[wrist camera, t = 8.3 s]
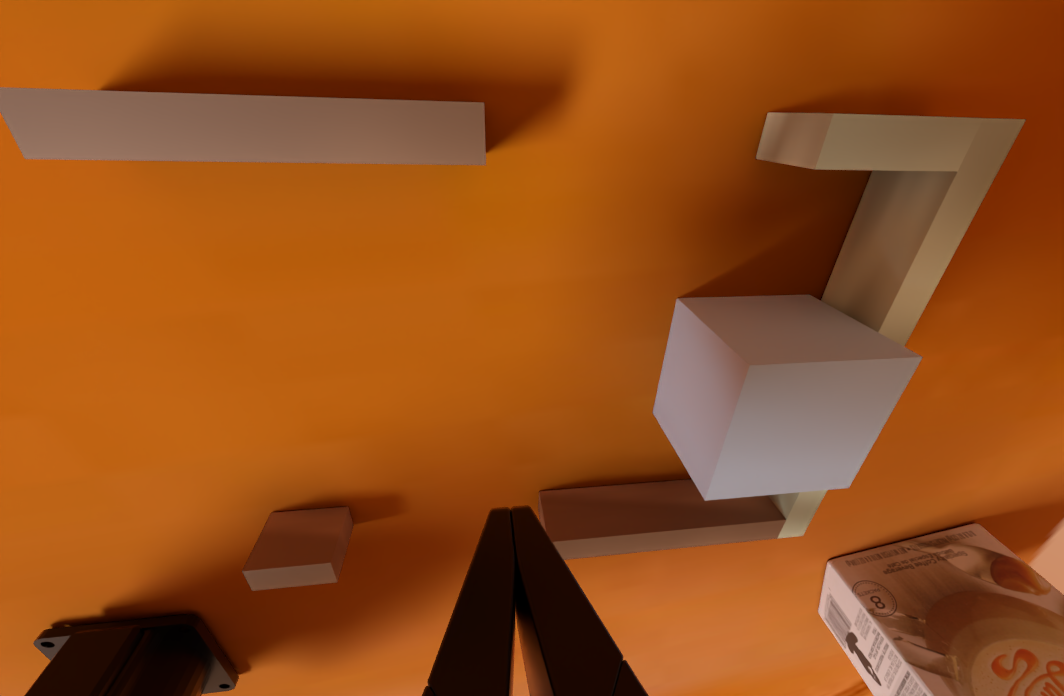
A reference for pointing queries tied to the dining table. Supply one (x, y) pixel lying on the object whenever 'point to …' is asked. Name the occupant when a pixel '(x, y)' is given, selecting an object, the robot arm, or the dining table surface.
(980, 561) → the coffee box
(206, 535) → the dining table surface
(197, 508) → the dining table surface
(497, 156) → the dining table surface
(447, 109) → the wooden pieces
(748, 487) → the white cube
